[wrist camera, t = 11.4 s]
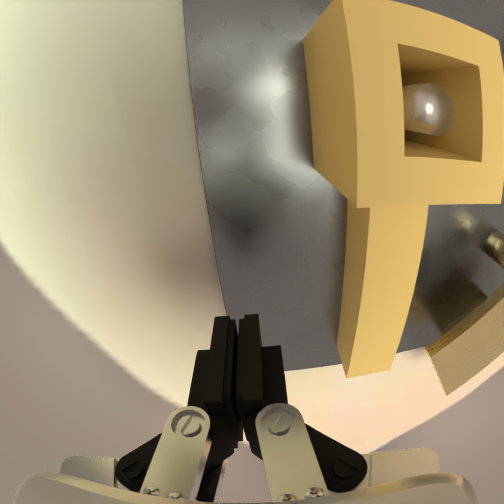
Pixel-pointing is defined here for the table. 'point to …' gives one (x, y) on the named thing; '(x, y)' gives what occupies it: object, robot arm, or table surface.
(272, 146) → the pintle board
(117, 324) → the table surface
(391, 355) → the link
